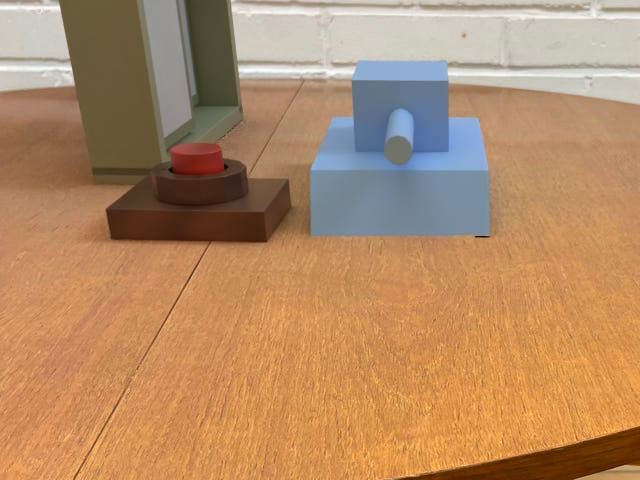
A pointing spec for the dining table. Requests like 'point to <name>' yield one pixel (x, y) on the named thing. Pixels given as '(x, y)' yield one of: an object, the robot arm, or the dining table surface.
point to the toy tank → (400, 159)
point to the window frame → (149, 80)
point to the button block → (200, 206)
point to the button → (197, 159)
